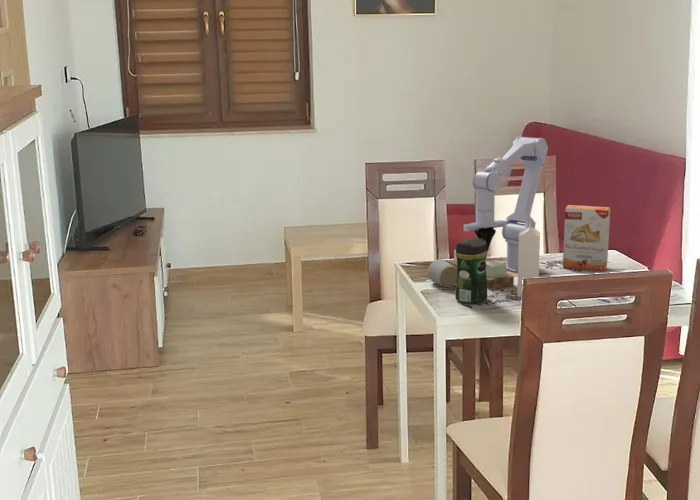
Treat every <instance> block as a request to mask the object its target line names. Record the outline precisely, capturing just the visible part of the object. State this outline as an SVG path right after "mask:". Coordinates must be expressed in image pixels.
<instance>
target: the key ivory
mask: <svg viewBox="0 0 700 500" xmlns="http://www.w3.org/2000/svg"><path fill="white" fill-rule="evenodd" d="M453 256H454V257H453V260H454V261H455V262H457V257H456V249H454V251H453Z"/></svg>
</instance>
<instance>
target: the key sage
mask: <svg viewBox="0 0 700 500" xmlns="http://www.w3.org/2000/svg"><path fill="white" fill-rule="evenodd" d="M506 265H507V263H506V264H505V263H503V262H501V261H499V260H496V261H489V262H488V263H486V276H488V277H490V278H499V277H506V273H507V269H506Z"/></svg>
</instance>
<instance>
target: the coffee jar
mask: <svg viewBox="0 0 700 500" xmlns="http://www.w3.org/2000/svg"><path fill="white" fill-rule="evenodd" d="M455 250H456V257H457V280H456V284H455V300H456V301H458V302H459V303H462V304H478V303H480V302H483V301H485V300H486V299H487V298H488V288H487V279H486V261H487V256H488V252H487V243H486V241H485V240H484V239H480V238H478V237H472V238H470V239H466V240H462V241H460V242H457V243H456V244H455Z"/></svg>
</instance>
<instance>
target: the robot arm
mask: <svg viewBox="0 0 700 500" xmlns="http://www.w3.org/2000/svg"><path fill="white" fill-rule="evenodd" d="M548 150H549V146H548V144H547V141H546V139H545V138H543V137H526V136H520V135H519V136H517V137H516V138H515V139H514V140H513V141H512V146H511V148H510V149H508V151H506V153H505V154H504V155H503V157H502V158H501V157H497V158H494V159H493V161H492V162H491V163H490V164H489V165H488V166H486V167H485V169H483V170H482V171H477V172H476V173H475V174H474V176H473V179H472V181H471V183H472V186H473V189H474V194H475V195H476V196H475V197H476V198H475V199H476V201H475V203H476V204H475V208H476V209H475V222H472V223H467V224H463V231H464V232H467V233H468V232H472V231H473V232H474V234H475V235H476V238H480V239H484V240H485V241H486V243H487V253H488V252H489V249H490V246H491V242H492V240H493V238H494V236H495V234H496V233H497V231H496V229H497V228H501V235H502V238H503V239H504V240H505V243H507V244H506V270H508V271H510V272H513V273H514V272H515V273H518V250H519V234H520V231H522V230H524V229H526V228H528V227H529V224H530V226H531V227H532V228H534V229H535V230H536V224H537V223H536V221H535V220H534V219H533V217H532V216H531V213H532V209H533V205H534V201H535V197H536V194H537V191H538V190H537V188H538V185H539V181H540V177H541V173H542V169H543V165H545V162H546V158H547V154H548ZM518 160H519V161H520V163H522V164H523V165H524V167H525V168H524V172H523V176H522V181H521V185H520V188H519V193H518V197H517V201H516V204H515V209H514V212H513V213H511V214H509V215H508V216H507V217H506V220H503V219H501V220H495V199H496V198H495V197H496V195H495V190H497V189H498V188H499V184H500V182H501V180H502V179H503V178H504V177H505V176H506V175H507V174H508V173H509V172H510V166H512V165H513V164H514V163H516V162H517V161H518ZM495 228H496V229H495Z"/></svg>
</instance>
